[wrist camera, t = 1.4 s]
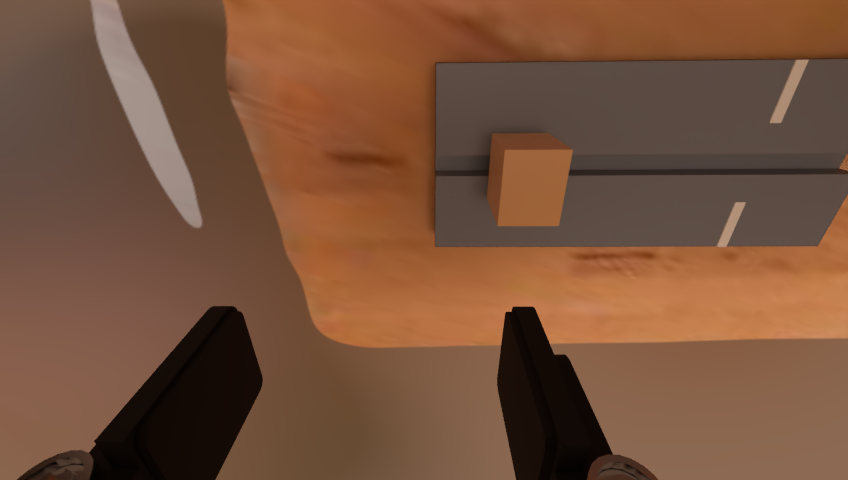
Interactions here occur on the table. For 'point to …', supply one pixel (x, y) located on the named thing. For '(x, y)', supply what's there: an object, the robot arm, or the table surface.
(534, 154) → the slider tab
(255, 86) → the table surface
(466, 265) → the table surface
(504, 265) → the table surface
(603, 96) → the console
